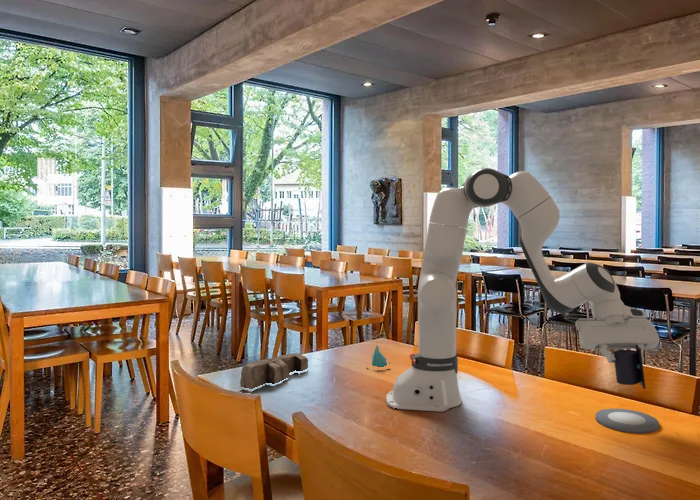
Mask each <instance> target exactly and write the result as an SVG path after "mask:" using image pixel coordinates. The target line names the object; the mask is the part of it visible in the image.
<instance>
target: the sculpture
mask: <svg viewBox="0 0 700 500" xmlns="http://www.w3.org/2000/svg"><path fill="white" fill-rule="evenodd" d="M307 368H308V369H309V359H308V357H306V356H305V355H303V354H302V353H301V354H300V353H297V352H296V353H294V352H293V353H287V354H285V353H284V354H283V355H278V356H273V357H269V358H267V359H261V360H256V361H252V362H249V363H246V364H245V365H243V367H242V368H241V373H240V381H239V383H240V388H241V387H244V388H249V389H253V388H255V387H258V386H260V385H263V384H265V383H272V384H275V383H278V382H280V381H282V380H284V379H286V378H288V377H289V378H290V376H289V373H290V372H293V371H295V370H296V371H303V370H305V369H307Z"/></svg>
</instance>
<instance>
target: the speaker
mask: <svg viewBox="0 0 700 500" xmlns="http://www.w3.org/2000/svg"><path fill="white" fill-rule="evenodd" d="M635 346H636V349H617V350H615V351H613V353H612V354H614V357H615V359H616V360H615V361H614V368H615V370H614V371H615V378H616V383H617V384H620V385H623V386H633V385H638V384H640V385H641V386H642V388H643V390H646V382H645V381H646V380H645V373H644V365H643V362H642V356H641V349H640V348H639V347H638V345H635Z"/></svg>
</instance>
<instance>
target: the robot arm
mask: <svg viewBox="0 0 700 500" xmlns="http://www.w3.org/2000/svg"><path fill="white" fill-rule="evenodd" d="M497 204H504V205H505V206H507V207H508V208H509V210H510V211H511V212H512V213H513V215H514V217H515V218H516V219H517V221H518V223H519V225H520V229H521V235H520V236H519V245H520V248H521V250H522V252H523V255H524V257H525V259H526V262H527V265H529V268H530V269H531V272H532V274H533V276H534V278H535V281H536V282H537V285H538V287H539V289H540V293H541V295H542V298H543V300H544V303H545V304H546V306H547V308H548V310H550V311H551V312H554V313H558V314H561V315H566V314H567V313H569V312H571V311H573V310H575V309H576V308H577V307H579V306H581V305H584V304H586V303H587V302H588V304H589V305H590V307H591V308H590V309H591V311H590V312H591V314H592V317H587V318H586V317H585V318H584V317H581V318H578V319H577V320H576V321H575V322H574V325H575V328H576V330H577V331H578V339H579V344H580V347H581V348H582V349H583V350H599V353H601V355H603V357H605V358H606V360H607V363H610V364H611V363H614V361H615V360H616V359H615V357H614V354H613V353H611V352H610V351H609V350H636V346H635V345H638V347H639V348H640V349H641V356H642V363H643V362H644V361H645V358H644V351H645V350H653V349H655V348H656V347H657V346H658V345H659V343H660V336H659V334H658V332H657V329H656V327H655V325H653V322H652V321H651V320H649V319H647V317H648V314H647V312H646V311H645V310H643V309H639V308H634V307H631V306H628V305H625V303H624V302H623V301H622V299H621V293H620V290H619V287H618V284H617V283H616V281H615V279H614V277H613V276H612V274H611V273H610V271H609V269H607V268H605V266H602V265H600V264H597V263H593V262H586V263H583V264H581V265H579V266H577V267H576V268H574V269H572V270H570V271H568V272H567V273H565V274H562V275H561V276H560V277H559V276H558V277H554V276H553V274H552V272H551V269H550V268H549V266H548V264H547V262H546V260H545V257H544V255H543V247H544V244H545V243H546V241H548V239H549V238H550V237H551V236H552V234H553V232H554V231H555V230H556V229H557V227H558V225H559V222H560V218H561V217H560V216H561V215H560V210H559V207H558V205H557V204H556V202H555V200H554V199H553V198H552V196H551V195H550V193H549V192H548V191H547V190H546V188H545V187H544V186H543V185H542V183H541V182H540V181H538V179H536V177H535V176H533V175H532V174H531V173H530V172H529V171H526V170H525V171H524V170H521V171H516V172H514V173H512V174H510V175H507V174H504V173H502V172H500V171H499V170H496V169H493V168H489V167H482V168H481V167H480V168H478V169H476V170H474V171H472V172H471V173H469V174H468V176H467V177H466V179H465V181H464V182H463V183H462V185H461V186H460V187H446V188H442V189H440V191H438V192H437V194H436V197H435V199H434V201H433V205H432V209H431V212H430V216H429V223H428V227H427V233H426V238H425V239H426V240H425V244H424V245H425V246H424V250H423V256H422V263H421V268H420V272H419V273H420V275H419V279H418V288H417V324H418V326H417V327H418V328H417V329H418V332H417V333H418V334H417V335H418V341H417V342H418V344H417V345H418V352H417V353H415V352H410V354H409V360H411V366H410V367H408V369H406V370H404V372H403V371H402V373H401V374H399V375H398V376H396V378H395V380H394V385H393V388H392V389H393V390H391V391H389V392H387V394H386V396H385V401H386V402H387V403H386V405H387V406H388V405H389V406H388V407H390V406H391V407H393V408H392V409H395V408H397V409H398V410H410V411H411V410H413V411H427V412H440V413H441V412H446V411H447V410H449V409H451V408H455V407H458V406H460V405H461V404H462V402H463V401H462V398H461V394H460V389H459V382H458V375H457V374H458V371H459V359H458V355H457V342H456V341H457V332H456V331H457V330H456V329H457V328H456V327H457V296H458V295H457V293H458V291H457V287H456V286H457V285H456V283H457V278H458V274H459V273H458V272H459V269H460V265H461V260H462V257H463V251H464V246H465V240H466V234H467V228H468V224H469V217H470V215H471V212H472V210H474V209H475V208H489V207H492V206H495V205H497ZM614 364H615V363H614ZM391 407H390V408H391Z"/></svg>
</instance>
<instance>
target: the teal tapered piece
mask: <svg viewBox="0 0 700 500" xmlns="http://www.w3.org/2000/svg"><path fill="white" fill-rule="evenodd" d="M371 355H372V357H371V364H372V365H373V366H377V367H384V366H386V365H387V362H386V360H387V358H386V357H385V356H384V354H382V352H381V351H380V348H379V345H375V349H374V351H373V354H371ZM389 364H390V362H389Z"/></svg>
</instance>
